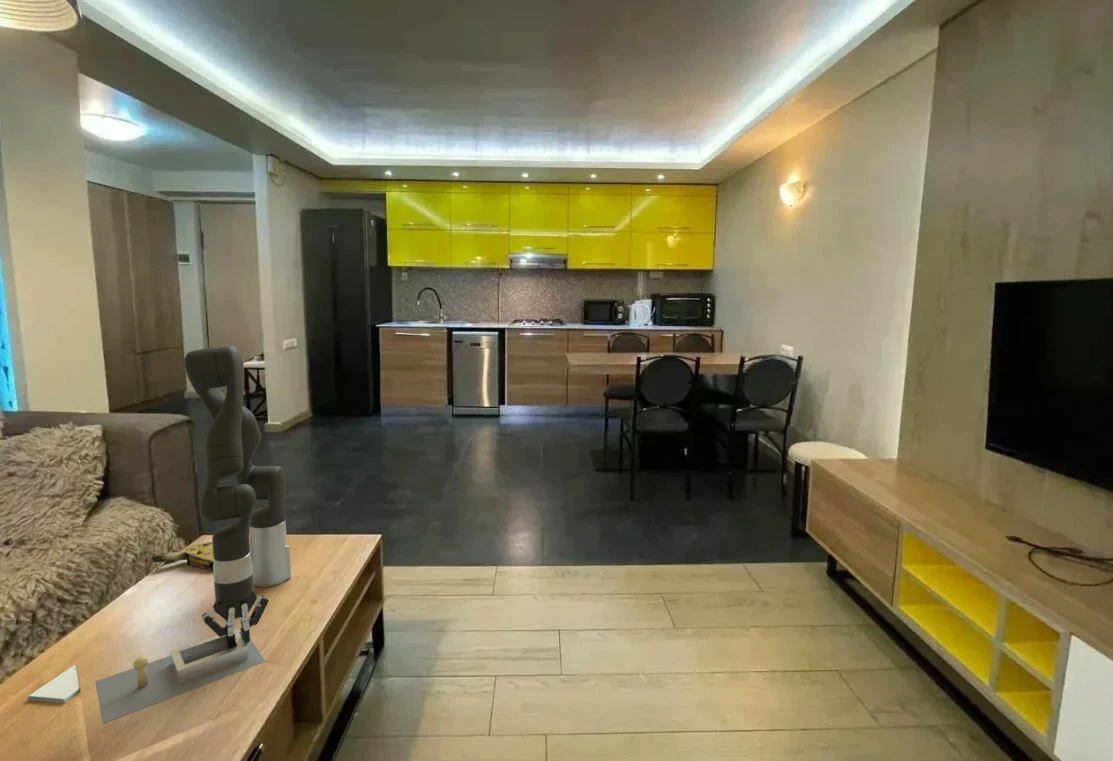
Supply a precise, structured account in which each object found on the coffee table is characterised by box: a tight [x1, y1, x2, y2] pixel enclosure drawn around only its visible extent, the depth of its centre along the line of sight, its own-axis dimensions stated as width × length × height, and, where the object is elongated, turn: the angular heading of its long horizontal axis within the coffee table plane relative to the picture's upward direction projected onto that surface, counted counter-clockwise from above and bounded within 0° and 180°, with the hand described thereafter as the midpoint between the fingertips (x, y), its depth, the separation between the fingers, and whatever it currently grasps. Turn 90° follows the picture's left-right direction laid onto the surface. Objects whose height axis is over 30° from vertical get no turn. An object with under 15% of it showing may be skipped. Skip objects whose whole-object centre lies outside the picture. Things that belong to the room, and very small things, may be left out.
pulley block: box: [150, 538, 251, 571], centre depth 175 cm, size 14×6×30 cm
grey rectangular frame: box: [169, 628, 248, 684], centre depth 125 cm, size 13×9×3 cm
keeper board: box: [95, 631, 266, 724], centre depth 122 cm, size 28×16×7 cm, turn 132°
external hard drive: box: [27, 663, 82, 704], centre depth 120 cm, size 2×8×12 cm
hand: (238, 646), depth 129 cm, fingers closed
